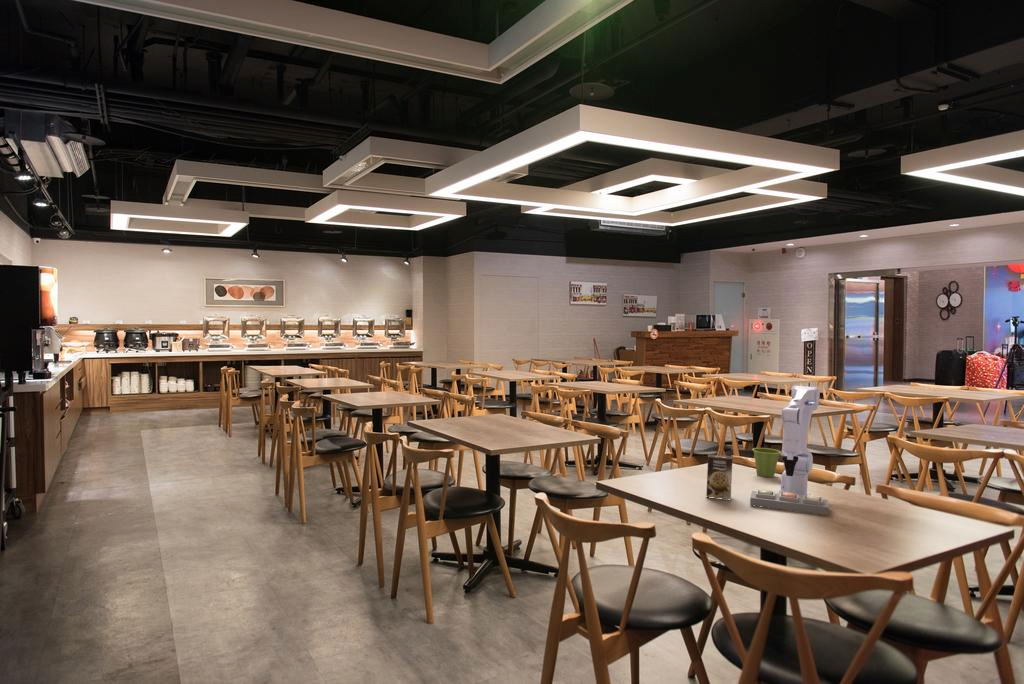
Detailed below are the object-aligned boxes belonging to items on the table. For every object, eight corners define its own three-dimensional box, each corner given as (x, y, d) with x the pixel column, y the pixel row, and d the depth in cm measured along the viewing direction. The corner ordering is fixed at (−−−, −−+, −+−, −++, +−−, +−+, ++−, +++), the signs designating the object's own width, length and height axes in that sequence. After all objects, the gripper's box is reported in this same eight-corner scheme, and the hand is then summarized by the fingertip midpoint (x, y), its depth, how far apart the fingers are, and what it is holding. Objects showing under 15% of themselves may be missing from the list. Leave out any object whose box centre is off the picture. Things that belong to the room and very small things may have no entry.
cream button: (806, 501, 230) (806, 497, 230) (806, 498, 234) (806, 494, 234) (819, 503, 228) (819, 499, 228) (819, 500, 232) (819, 496, 232)
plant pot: (777, 480, 274) (778, 454, 274) (749, 476, 281) (749, 450, 280) (782, 474, 285) (783, 449, 284) (754, 471, 291) (755, 446, 290)
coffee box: (706, 498, 244) (707, 456, 243) (706, 494, 250) (707, 453, 249) (731, 501, 241) (732, 458, 240) (731, 496, 247) (732, 455, 246)
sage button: (758, 495, 237) (759, 491, 237) (759, 493, 241) (759, 489, 241) (771, 497, 235) (771, 493, 235) (772, 494, 239) (772, 490, 239)
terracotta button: (782, 498, 233) (782, 494, 233) (782, 495, 237) (782, 491, 237) (795, 500, 232) (795, 496, 231) (795, 497, 236) (795, 493, 235)
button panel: (750, 505, 235) (750, 494, 235) (751, 498, 245) (752, 487, 245) (828, 515, 224) (829, 504, 224) (827, 507, 234) (827, 496, 234)
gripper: (802, 443, 230) (801, 481, 231) (802, 437, 244) (801, 473, 244) (781, 441, 233) (780, 478, 234) (782, 436, 247) (781, 471, 247)
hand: (789, 475), depth 239 cm, fingers closed
